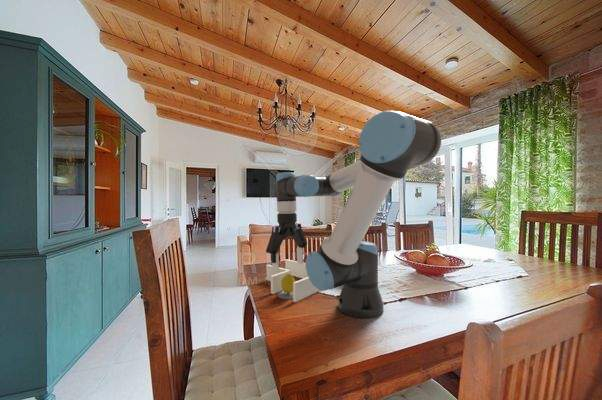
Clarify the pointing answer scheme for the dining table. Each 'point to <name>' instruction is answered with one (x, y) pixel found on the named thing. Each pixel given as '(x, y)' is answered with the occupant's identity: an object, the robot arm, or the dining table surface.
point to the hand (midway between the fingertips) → (288, 267)
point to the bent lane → (300, 287)
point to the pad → (285, 295)
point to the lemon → (287, 283)
